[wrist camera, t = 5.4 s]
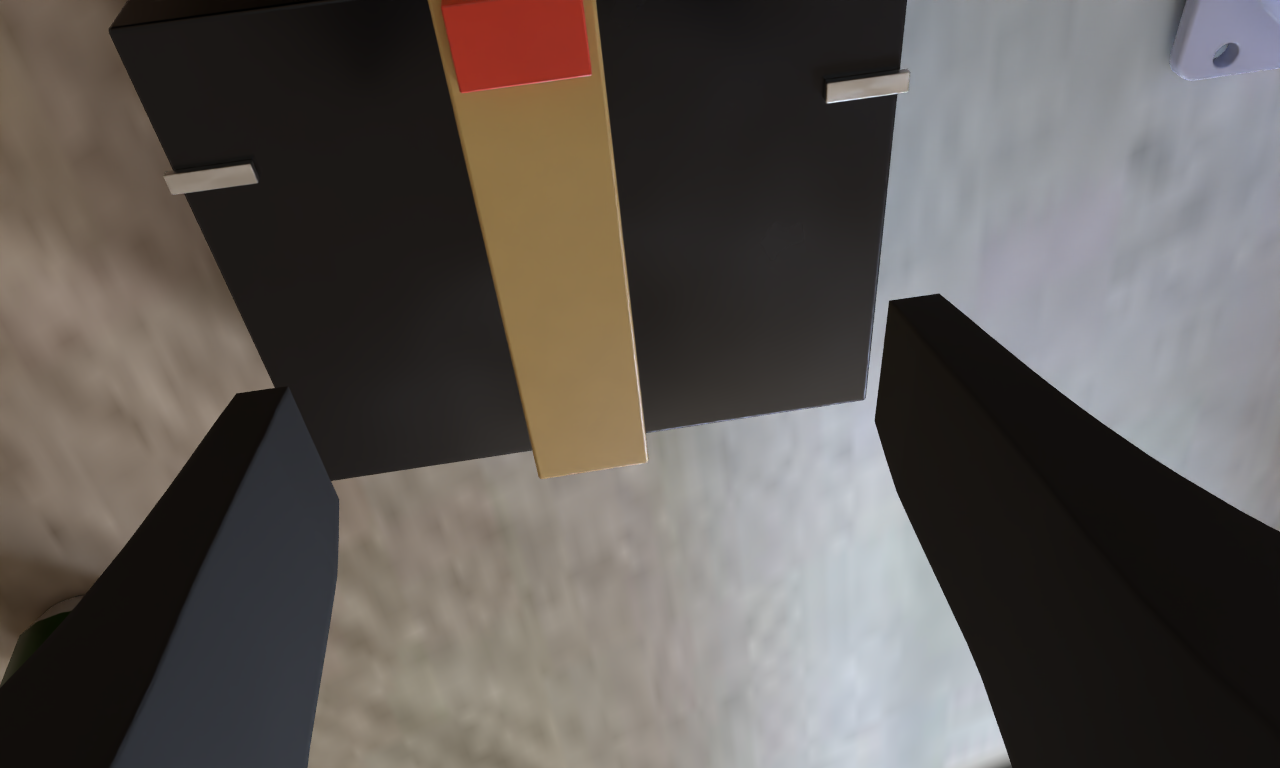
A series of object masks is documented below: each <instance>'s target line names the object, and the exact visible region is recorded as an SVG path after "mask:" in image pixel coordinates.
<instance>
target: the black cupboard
mask: <svg viewBox="0 0 1280 768" xmlns="http://www.w3.org/2000/svg"><path fill="white" fill-rule="evenodd" d="M596 5H597V14H598V23H599V32H600V40H601V49H602V58H603V66H604V75H605V84H606V93H607V101H608V110H609V119H610V127H611V136H612V145H613V153H614V162H615V171H616V180H617V188H618V197H619V206H620V214H621V223H622V232H623V241H624V249H625V258H626V267H627V275H628V284H629V293H630V301H631V310H632V319H633V328H634V336H635V345H636V354H637V362H638V371H639V380H640V389H641V397H642V406H643V415H644V423H645V432H646V433H650V432H656V431H663V430H669V429H676V428H683V427H689V426H696V425H702V424H709V423H716V422H722V421H729V420H735V419H742V418H749V417H755V416H762V415H768V414H775V413H781V412H788V411H795V410H801V409H808V408H814V407H821V406H828V405H834V404H841V403H847V402H854V401H861V400H864V399H865V398H866V389H867V380H868V370H869V361H870V351H871V341H872V332H873V322H874V313H875V303H876V293H877V284H878V274H879V265H880V255H881V245H882V236H883V226H884V217H885V207H886V197H887V188H888V178H889V169H890V159H891V149H892V140H893V130H894V121H895V111H896V101H897V94H898V93H905V92H908V89H909V80H910V71H909V70H908V69H900V63H901V53H902V44H903V34H904V25H905V15H906V5H907V0H596ZM109 34H110V36H111V38H112V40H113V43H114V45H115V47H116V49H117V51H118V53H119V55H120V57H121V60H122V62H123V64H124V66H125V68H126V70H127V72H128V75H129V77H130V79H131V81H132V83H133V85H134V87H135V90H136V92H137V94H138V96H139V98H140V100H141V102H142V104H143V107H144V109H145V111H146V113H147V115H148V117H149V119H150V122H151V124H152V126H153V128H154V130H155V132H156V134H157V137H158V139H159V141H160V143H161V145H162V147H163V149H164V152H165V154H166V156H167V158H168V160H169V162H170V164H171V166H172V169H173V171H166V172H165V173H164V175H163V177H164V179H165V181H166V183H167V186H168V188H169V190H170V192H171V194H172V195H177V194H185V196H186V199H187V201H188V203H189V205H190V207H191V209H192V211H193V214H194V216H195V218H196V220H197V222H198V224H199V226H200V228H201V231H202V233H203V235H204V237H205V239H206V241H207V243H208V246H209V248H210V250H211V252H212V254H213V256H214V258H215V261H216V263H217V265H218V267H219V269H220V271H221V273H222V275H223V278H224V280H225V282H226V284H227V286H228V288H229V290H230V293H231V295H232V297H233V299H234V301H235V303H236V305H237V308H238V310H239V312H240V314H241V316H242V318H243V320H244V323H245V325H246V327H247V329H248V331H249V333H250V335H251V337H252V340H253V342H254V344H255V346H256V348H257V350H258V352H259V355H260V357H261V359H262V361H263V363H264V365H265V367H266V370H267V372H268V374H269V376H270V378H271V380H272V382H273V385H274V387H275V388H279V387H286V386H288V387H289V389H290V391H291V393H292V396H293V398H294V400H295V402H296V405H297V407H298V409H299V411H300V414H301V416H302V418H303V420H304V422H305V425H306V427H307V429H308V431H309V434H310V436H311V438H312V440H313V443H314V445H315V447H316V449H317V451H318V454H319V456H320V458H321V460H322V463H323V465H324V467H325V469H326V472H327V474H328V476H329V478H330V480H331V481H333V480H340V479H347V478H353V477H360V476H366V475H373V474H380V473H386V472H393V471H399V470H406V469H413V468H419V467H426V466H432V465H439V464H445V463H452V462H459V461H465V460H472V459H478V458H485V457H492V456H498V455H505V454H511V453H518V452H525V451H531V450H532V446H531V442H530V437H529V433H528V429H527V425H526V420H525V416H524V412H523V407H522V403H521V399H520V395H519V390H518V386H517V382H516V377H515V373H514V369H513V365H512V360H511V356H510V352H509V347H508V343H507V339H506V335H505V330H504V326H503V322H502V317H501V313H500V309H499V305H498V300H497V296H496V292H495V287H494V283H493V279H492V275H491V270H490V266H489V262H488V257H487V253H486V249H485V245H484V240H483V236H482V232H481V227H480V223H479V219H478V215H477V210H476V206H475V202H474V197H473V193H472V189H471V185H470V180H469V176H468V172H467V167H466V163H465V159H464V155H463V150H462V146H461V142H460V137H459V133H458V129H457V124H456V120H455V116H454V112H453V107H452V103H451V99H450V94H449V90H448V86H447V82H446V77H445V73H444V69H443V64H442V60H441V56H440V52H439V47H438V43H437V39H436V34H435V30H434V26H433V22H432V17H431V13H430V9H429V4H428V0H128V1H127V2H126V4H125V5H124V7H123V8H122V10H121V11H120V13H119V14H118V16H117V17H116V19H115V20H114V22H113V23H112V24H111V26H110V27H109Z"/></svg>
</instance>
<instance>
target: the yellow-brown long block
mask: <svg viewBox="0 0 1280 768" xmlns="http://www.w3.org/2000/svg"><path fill="white" fill-rule="evenodd" d="M428 4H429V9H430V13H431V17H432V22H433V26H434V30H435V34H436V39H437V43H438V47H439V52H440V56H441V60H442V64H443V69H444V73H445V77H446V82H447V86H448V90H449V94H450V99H451V103H452V107H453V112H454V116H455V120H456V124H457V129H458V133H459V137H460V142H461V146H462V150H463V155H464V159H465V163H466V167H467V172H468V176H469V180H470V185H471V189H472V193H473V197H474V202H475V206H476V210H477V215H478V219H479V223H480V227H481V232H482V236H483V240H484V245H485V249H486V253H487V257H488V262H489V266H490V270H491V275H492V279H493V283H494V287H495V292H496V296H497V300H498V305H499V309H500V313H501V317H502V322H503V326H504V330H505V335H506V339H507V343H508V347H509V352H510V356H511V360H512V365H513V369H514V373H515V377H516V382H517V386H518V390H519V395H520V399H521V403H522V407H523V412H524V416H525V420H526V425H527V429H528V433H529V437H530V442H531V446H532V450H533V455H534V459H535V463H536V467H537V472H538V476H539V477H540V479H545V478H552V477H559V476H565V475H572V474H578V473H585V472H591V471H598V470H604V469H611V468H617V467H624V466H630V465H637V464H643V463H647V462H648V459H649V458H648V449H647V441H646V432H645V423H644V415H643V406H642V397H641V389H640V380H639V371H638V362H637V354H636V345H635V336H634V328H633V319H632V310H631V301H630V293H629V284H628V275H627V267H626V258H625V249H624V241H623V232H622V223H621V214H620V206H619V197H618V188H617V180H616V171H615V162H614V153H613V145H612V136H611V127H610V119H609V110H608V101H607V93H606V84H605V75H604V66H603V58H602V49H601V40H600V32H599V23H598V14H597V5H596V0H428Z"/></svg>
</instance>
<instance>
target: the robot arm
mask: <svg viewBox="0 0 1280 768" xmlns="http://www.w3.org/2000/svg"><path fill="white" fill-rule="evenodd" d="M1225 44H1228V46H1227V48H1226V49H1225V51H1224V52H1223V53H1222V54H1221V55H1220V56H1219V57H1216V58H1214V55H1215V54H1216V52H1217V50H1218V49H1220V48H1221V47H1222V46H1223V45H1225ZM1213 58H1214V59H1213ZM1169 64H1170V66H1171V68H1172V70H1173V71H1174V72H1175V73H1177V74H1178V75H1179V76H1180V77H1182V78H1184V79H1185V80H1200V79H1207V78H1214V77H1221V76H1228V75H1235V74H1242V73H1250V72H1257V71H1264V70H1271V69H1278V68H1280V0H1186V4H1185V7H1184V10H1183V14H1182V17H1181V20H1180V24H1179V27H1178V30H1177V33H1176V37H1175V40H1174V43H1173V47H1172V50H1171V53H1170V61H1169ZM875 424H876V427H877V430H878V434H879V437H880V440H881V444H882V447H883V450H884V454H885V457H886V460H887V463H888V466H889V469H890V472H891V475H892V479H893V482H894V485H895V488H896V491H897V493H898V496H899V498H900V500H901V502H902V504H903V507H904V509H905V511H906V513H907V516H908V518H909V520H910V522H911V524H912V526H913V529H914V531H915V533H916V535H917V537H918V539H919V542H920V544H921V546H922V548H923V550H924V552H925V554H926V557H927V559H928V561H929V563H930V565H931V567H932V569H933V572H934V574H935V576H936V578H937V580H938V582H939V584H940V586H941V589H942V591H943V593H944V595H945V597H946V599H947V601H948V604H949V606H950V608H951V610H952V612H953V614H954V616H955V618H956V621H957V623H958V625H959V627H960V629H961V631H962V633H963V636H964V638H965V640H966V642H967V644H968V646H969V649H970V651H971V654H972V656H973V659H974V661H975V663H976V666H977V668H978V671H979V673H980V675H981V678H982V681H983V683H984V686H985V689H986V692H987V695H988V698H989V701H990V704H991V706H992V709H993V712H994V715H995V718H996V721H997V724H998V727H999V729H1000V732H1001V735H1002V738H1003V741H1004V744H1005V747H1006V750H1007V753H1008V756H1009V759H1010V762H1011V765H1012V768H1280V532H1279V531H1277V530H1275V529H1273V528H1271V527H1269V526H1268V525H1266V524H1264V523H1262V522H1260V521H1258V520H1257V519H1255V518H1253V517H1251V516H1249V515H1247V514H1245V513H1244V512H1242V511H1240V510H1238V509H1236V508H1235V507H1233V506H1231V505H1230V504H1228V503H1226V502H1225V501H1223V500H1221V499H1219V498H1218V497H1216V496H1214V495H1213V494H1211V493H1209V492H1208V491H1206V490H1204V489H1203V488H1201V487H1199V486H1197V485H1196V484H1194V483H1192V482H1191V481H1189V480H1187V479H1186V478H1184V477H1182V476H1181V475H1179V474H1177V473H1176V472H1174V471H1173V470H1171V469H1169V468H1168V467H1166V466H1165V465H1163V464H1162V463H1160V462H1158V461H1157V460H1155V459H1154V458H1152V457H1151V456H1149V455H1148V454H1146V453H1145V452H1143V451H1142V450H1140V449H1139V448H1138V447H1136V446H1135V445H1133V444H1132V443H1130V442H1129V441H1127V440H1126V439H1124V438H1123V437H1122V436H1120V435H1119V434H1117V433H1116V432H1114V431H1113V430H1111V429H1110V428H1108V427H1107V426H1106V425H1104V424H1103V423H1101V422H1100V421H1099V420H1097V419H1096V418H1094V417H1093V416H1092V415H1090V414H1089V413H1088V412H1086V411H1085V410H1083V409H1082V408H1081V407H1079V406H1078V405H1077V404H1075V403H1074V402H1073V401H1071V400H1070V399H1069V398H1067V397H1066V396H1065V395H1063V394H1062V393H1061V392H1060V391H1058V390H1057V389H1056V388H1054V387H1053V386H1052V385H1051V384H1049V383H1048V382H1047V381H1045V380H1044V379H1043V378H1041V377H1040V376H1039V375H1038V374H1036V373H1035V372H1034V371H1033V370H1031V369H1030V368H1029V367H1028V366H1026V365H1025V364H1024V363H1023V362H1021V361H1020V360H1019V359H1018V358H1017V357H1015V356H1014V355H1013V354H1012V353H1010V352H1009V351H1008V350H1007V349H1006V348H1004V347H1003V346H1002V345H1001V344H999V343H998V342H997V341H996V340H995V339H993V338H992V337H991V336H990V335H989V334H987V333H986V332H985V331H984V330H983V329H981V328H980V327H979V326H978V325H977V324H975V323H974V322H973V321H972V320H971V319H969V318H968V317H967V316H966V315H965V314H963V313H962V312H961V311H960V310H959V309H957V308H956V307H955V306H954V305H953V304H951V303H950V302H949V301H948V300H946V299H945V298H944V297H943V296H941V295H940V294H933V295H926V296H919V297H912V298H905V299H898V300H891V301H889V308H888V316H887V324H886V332H885V340H884V349H883V357H882V365H881V373H880V381H879V390H878V398H877V406H876V414H875ZM338 542H339V498H338V496H337V494H336V492H335V489H334V487H333V485H332V483H331V480H330V478H329V476H328V474H327V472H326V469H325V467H324V465H323V463H322V460H321V458H320V456H319V454H318V451H317V449H316V447H315V445H314V443H313V440H312V438H311V436H310V434H309V431H308V429H307V427H306V425H305V422H304V420H303V418H302V416H301V414H300V411H299V409H298V407H297V405H296V402H295V400H294V398H293V396H292V393H291V391H290V389H289V387H288V386H286V387H279V388H272V389H265V390H258V391H251V392H244V393H237V394H236V395H235V396H234V398H233V399H232V400H231V402H230V403H229V404H228V406H227V407H226V408H225V410H224V411H223V412H222V414H221V415H220V416H219V418H218V419H217V421H216V422H215V423H214V425H213V426H212V428H211V429H210V430H209V432H208V433H207V435H206V436H205V437H204V439H203V440H202V442H201V443H200V444H199V446H198V447H197V449H196V450H195V451H194V453H193V454H192V456H191V457H190V459H189V460H188V461H187V463H186V464H185V466H184V467H183V468H182V470H181V471H180V473H179V474H178V475H177V477H176V478H175V479H174V481H173V482H172V484H171V485H170V486H169V488H168V489H167V491H166V492H165V493H164V495H163V496H162V497H161V499H160V500H159V501H158V503H157V504H156V505H155V507H154V508H153V509H152V511H151V512H150V513H149V515H148V516H147V517H146V519H145V520H144V521H143V523H142V524H141V525H140V527H139V528H138V529H137V531H136V532H135V533H134V535H133V536H132V537H131V539H130V540H129V541H128V543H127V544H126V545H125V547H124V548H123V549H122V550H121V552H120V553H119V554H118V555H117V556H116V558H115V559H114V560H113V561H112V563H111V564H110V565H109V566H108V568H107V569H106V570H105V571H104V572H103V574H102V575H101V576H100V577H99V579H98V580H97V581H96V582H95V583H94V585H93V586H92V587H91V588H90V590H89V591H88V592H87V593H86V594H85V596H84V597H83V598H82V599H81V601H80V602H79V603H78V604H77V605H76V607H75V608H74V609H73V610H72V611H71V612H70V614H69V615H68V616H67V617H66V618H65V619H64V620H63V621H62V623H61V624H60V625H59V626H58V627H57V628H56V629H55V630H54V631H53V633H52V634H51V635H50V636H49V637H48V638H47V639H46V640H45V641H44V642H43V644H42V645H41V646H40V647H39V648H38V649H37V650H36V651H35V652H34V653H33V654H32V655H31V656H30V657H29V658H28V659H27V660H26V661H25V662H24V664H23V665H22V666H21V667H20V668H19V669H18V670H17V671H16V672H15V673H14V674H13V675H12V676H11V677H10V678H9V679H8V680H7V681H6V682H5V683H4V684H3V685H2V686H1V687H0V768H307V767H308V758H309V750H310V743H311V737H312V731H313V725H314V719H315V712H316V706H317V700H318V694H319V688H320V682H321V676H322V670H323V664H324V658H325V652H326V645H327V639H328V633H329V627H330V620H331V614H332V607H333V601H334V595H335V588H336V581H337V568H338Z"/></svg>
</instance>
